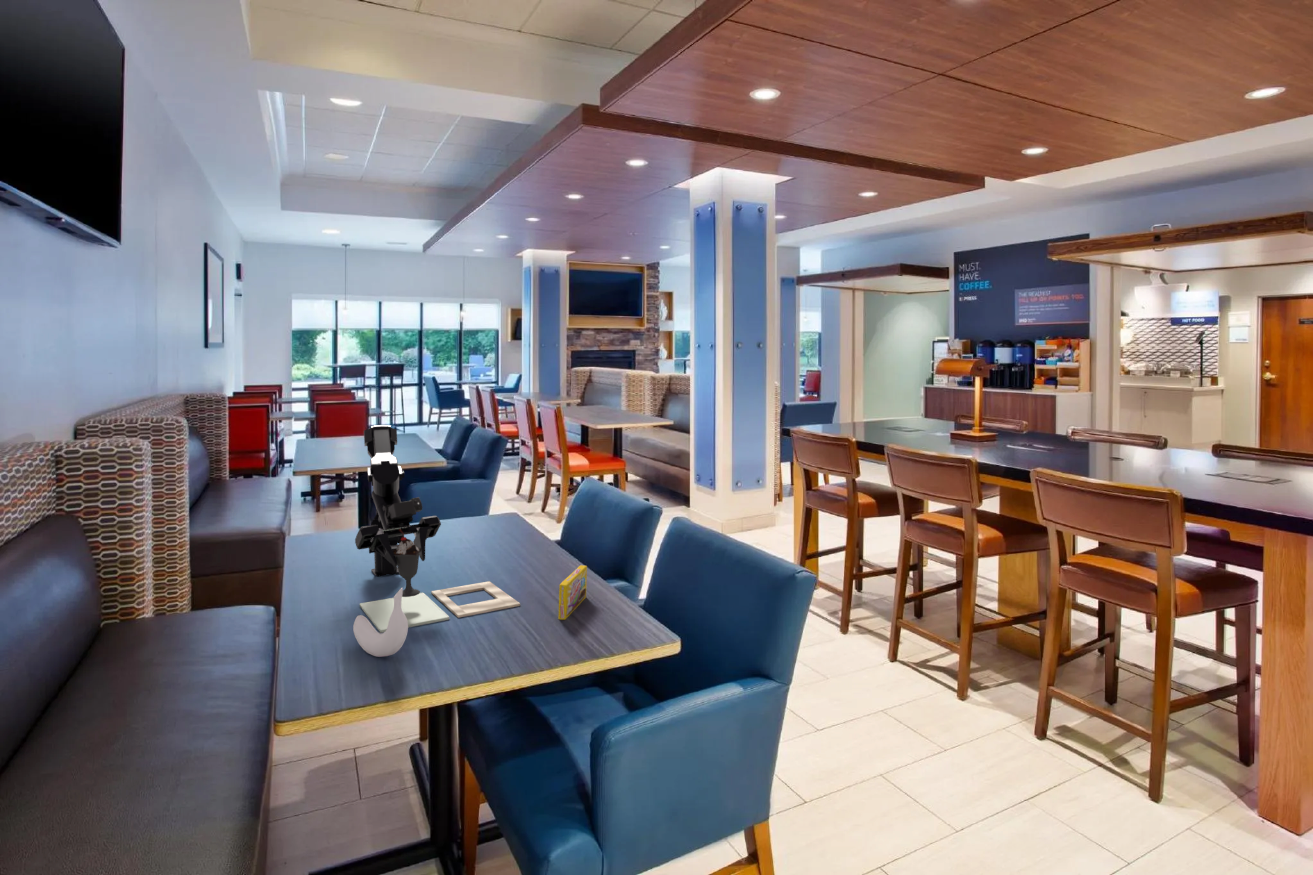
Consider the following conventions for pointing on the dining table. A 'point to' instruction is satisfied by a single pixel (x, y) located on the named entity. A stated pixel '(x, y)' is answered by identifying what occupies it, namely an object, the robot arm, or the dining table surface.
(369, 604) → the stub pad
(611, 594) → the dining table surface
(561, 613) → the candy box
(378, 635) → the white curved piece
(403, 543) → the sundae
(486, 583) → the wooden picture frame
